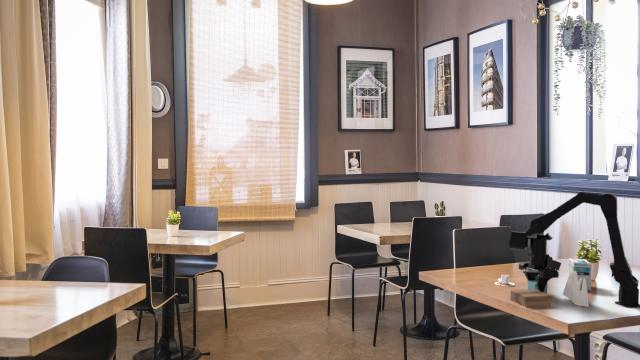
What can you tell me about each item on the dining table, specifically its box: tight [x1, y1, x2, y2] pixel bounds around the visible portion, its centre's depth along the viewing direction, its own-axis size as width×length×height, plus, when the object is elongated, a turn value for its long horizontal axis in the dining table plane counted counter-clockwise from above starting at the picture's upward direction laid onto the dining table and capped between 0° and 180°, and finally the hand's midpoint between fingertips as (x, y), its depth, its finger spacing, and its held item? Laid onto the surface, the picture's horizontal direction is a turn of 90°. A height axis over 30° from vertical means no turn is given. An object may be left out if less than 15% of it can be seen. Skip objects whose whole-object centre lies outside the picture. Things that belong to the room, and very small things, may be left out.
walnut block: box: [510, 289, 553, 308], centre depth 219 cm, size 10×10×4 cm
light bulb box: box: [568, 258, 592, 291], centre depth 246 cm, size 11×7×11 cm, turn 168°
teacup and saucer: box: [494, 274, 516, 287], centre depth 251 cm, size 9×8×4 cm
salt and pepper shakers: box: [562, 271, 589, 308], centre depth 220 cm, size 12×4×11 cm, turn 4°
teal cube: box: [527, 280, 548, 294], centre depth 232 cm, size 5×5×5 cm
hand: (537, 292), depth 232 cm, fingers closed on teal cube, 5 cm apart
